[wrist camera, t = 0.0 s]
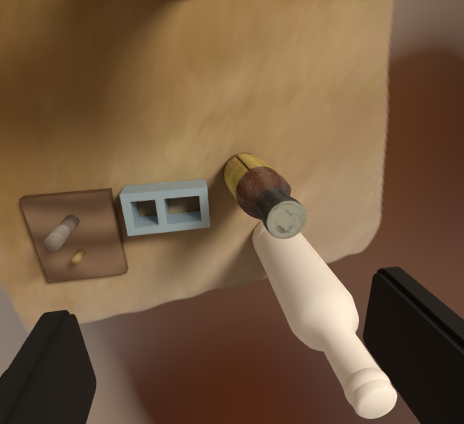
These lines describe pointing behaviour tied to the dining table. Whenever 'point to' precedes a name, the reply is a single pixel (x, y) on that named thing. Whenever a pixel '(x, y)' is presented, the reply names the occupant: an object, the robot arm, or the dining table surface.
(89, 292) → the dining table surface
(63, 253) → the post block
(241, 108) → the dining table surface
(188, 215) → the hollow blue brick
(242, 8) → the dining table surface
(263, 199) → the sauce bottle
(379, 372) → the bottle
